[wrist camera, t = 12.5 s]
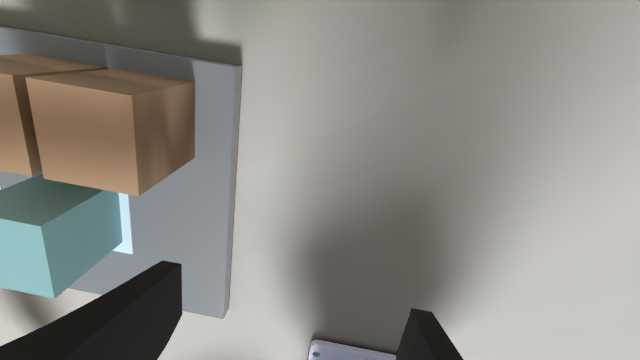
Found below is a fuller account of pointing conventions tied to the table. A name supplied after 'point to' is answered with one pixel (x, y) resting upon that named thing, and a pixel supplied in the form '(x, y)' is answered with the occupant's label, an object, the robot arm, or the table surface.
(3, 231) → the teal block
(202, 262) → the baseplate
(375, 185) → the table surface
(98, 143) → the walnut blocks
